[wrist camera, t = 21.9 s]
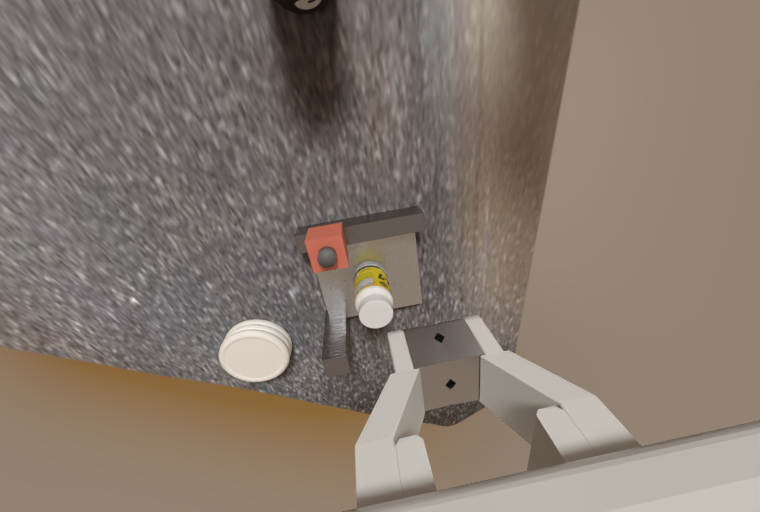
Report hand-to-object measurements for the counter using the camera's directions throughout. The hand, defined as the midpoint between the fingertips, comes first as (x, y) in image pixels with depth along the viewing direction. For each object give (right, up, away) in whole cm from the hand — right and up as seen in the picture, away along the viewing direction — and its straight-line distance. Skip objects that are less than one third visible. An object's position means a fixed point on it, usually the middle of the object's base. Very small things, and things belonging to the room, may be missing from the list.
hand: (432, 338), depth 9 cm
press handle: (-8, +5, +26) cm, 27 cm away
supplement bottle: (-3, 0, +31) cm, 31 cm away
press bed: (-3, 0, +32) cm, 32 cm away
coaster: (-21, -11, +36) cm, 43 cm away
